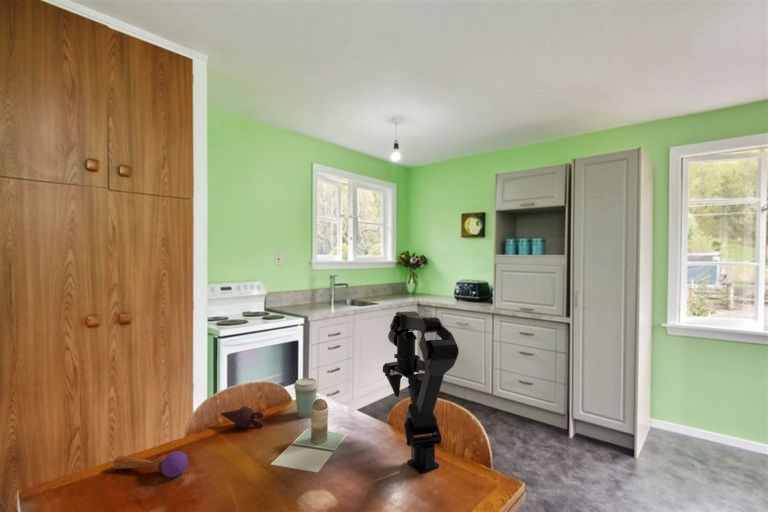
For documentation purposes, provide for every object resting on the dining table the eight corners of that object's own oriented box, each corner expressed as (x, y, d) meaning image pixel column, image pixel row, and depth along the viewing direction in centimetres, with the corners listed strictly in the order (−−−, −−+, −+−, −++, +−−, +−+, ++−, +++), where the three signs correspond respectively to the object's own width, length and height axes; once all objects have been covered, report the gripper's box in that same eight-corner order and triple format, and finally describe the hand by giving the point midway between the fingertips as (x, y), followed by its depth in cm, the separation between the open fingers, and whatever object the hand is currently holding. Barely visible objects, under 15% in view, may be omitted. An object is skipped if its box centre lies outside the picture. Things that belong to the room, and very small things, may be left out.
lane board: (317, 473, 97) (317, 471, 97) (270, 465, 100) (270, 463, 100) (347, 435, 118) (347, 433, 118) (307, 429, 122) (307, 428, 122)
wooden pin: (328, 442, 112) (329, 401, 112) (311, 444, 111) (312, 403, 111) (326, 435, 117) (327, 395, 117) (310, 436, 115) (311, 396, 116)
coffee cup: (322, 413, 135) (323, 380, 135) (306, 421, 127) (306, 386, 128) (305, 407, 139) (306, 376, 139) (288, 415, 132) (289, 382, 132)
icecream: (214, 411, 120) (258, 419, 118) (227, 397, 127) (268, 404, 125) (215, 429, 121) (258, 437, 120) (228, 415, 129) (268, 421, 127)
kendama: (129, 447, 102) (193, 448, 99) (127, 470, 101) (192, 472, 97) (110, 454, 96) (177, 455, 93) (107, 479, 95) (175, 481, 92)
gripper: (445, 355, 112) (445, 406, 112) (409, 342, 128) (408, 387, 128) (416, 360, 106) (415, 414, 106) (382, 346, 122) (381, 393, 122)
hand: (405, 401), depth 115 cm, fingers open, 9 cm apart
